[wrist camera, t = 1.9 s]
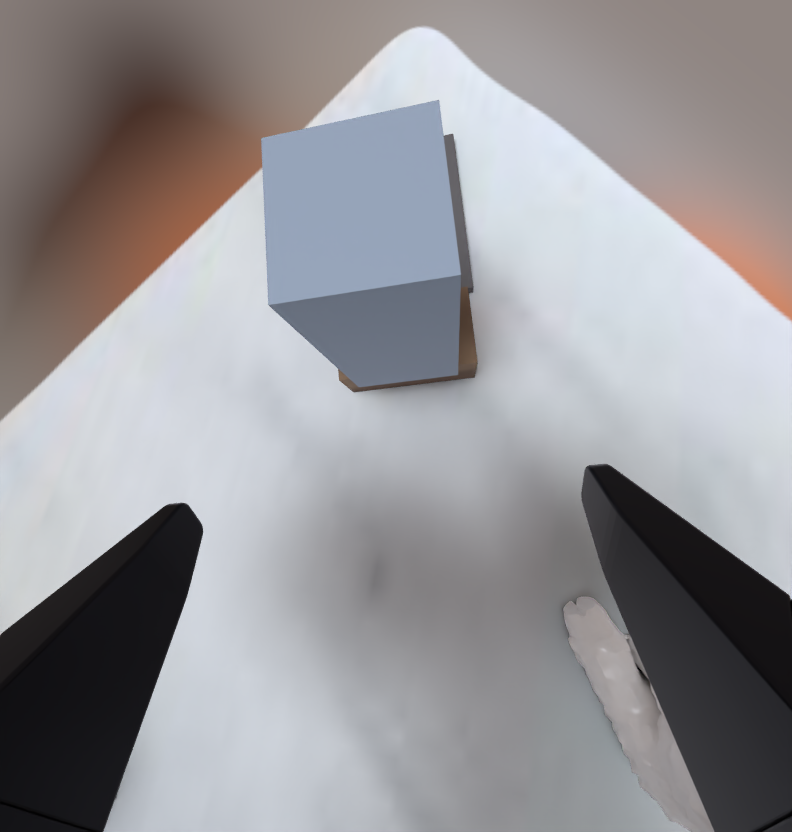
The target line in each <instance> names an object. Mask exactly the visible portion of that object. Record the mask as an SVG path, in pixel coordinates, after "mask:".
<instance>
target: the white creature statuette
mask: <svg viewBox="0 0 792 832" xmlns="http://www.w3.org/2000/svg"><path fill="white" fill-rule="evenodd" d="M563 611H564V620H565V624H566V627H567V629H568V632H569V635H570V636H569V637H568V642H569V644H570V646H571V648H572V649H573V651H574V652H575V657H576V659H577V661H578V662H579V663H580V664H581V665H582V666H583V667H584V669H585V671H586V675H587V676H588V678H589V681H590V683H591V686H592V689H593V690H594V692H595V693H596V694H597V696H598V697H599V702H601V703H602V704H603V705H604V714H605V715H606V716H607V717H608V719H610V720H611V722H612V728H613V730H614V732H615V733H616V734H617V737H618V740H619V742H620V743H621V744H622V751H623V753H624V755H625V756H627V757H628V758H629V759H630V763H631V769H632V772H633V773H634V774H636V775H638V782H639V785H640V788H642V789H643V790H644V791H646V792H647V793H648V794H649V795H650V796H651V797H652V798H653V799H654V800H656V801H657V803H658V804H659V806H660V807H661V808H662V810H663V811H664V813H665V814H666V816H667V817H668V819H669V820H670V821H672V822H676V823H678V824H680V825H681V826H683V827H685V828H686V829H688V830H690V831H691V832H714V830H713V827H712V825H711V823H710V820H709V818H708V816H707V813H706V811H705V809H704V806H703V804H702V802H701V799H700V797H699V795H698V792H697V790H696V788H695V785H694V783H693V781H692V778H691V776H690V774H689V771H688V769H687V767H686V764H685V762H684V760H683V757H682V755H681V753H680V750H679V748H678V746H677V743H676V741H675V739H674V736H673V734H672V732H671V729H670V727H669V725H668V722H667V720H666V718H665V715H664V713H663V711H662V708H661V706H660V704H659V701H658V699H657V697H656V694H655V692H654V690H653V687H652V685H651V683H650V680H649V678H648V676H647V673H646V671H645V669H644V666H643V664H642V662H641V659H640V657H639V655H638V652H637V650H636V648H635V645H634V643H633V641H632V638H631V636H630V634H629V635H624V634H623V633H622V632H621V631H620V630H619V629H618V628H617V627H616V625H615V624H614V623H613V622H612V621H611V619H610V617H609V616H608V614H607V612H606V610H605V609H604V608H603V607H602V606H601V605H600V604H599V603H598V602H597V601H596V600H595V599H594V598H592V597H579V598H577V600H576V604H574V603H573V602H572V601H569V602H568V603H567V604H566V605H565V607H564V609H563ZM636 666H637V667H639V668H640V669H641V671H642V673H641V672H640V671H639V670H638V669H637V667H636Z"/></svg>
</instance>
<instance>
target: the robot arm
mask: <svg viewBox="0 0 792 832" xmlns="http://www.w3.org/2000/svg"><path fill="white" fill-rule="evenodd" d="M581 497H582V503H583V507H584V510H585V513H586V517H587V520H588V523H589V527H590V530H591V533H592V537H593V540H594V543H595V547H596V550H597V553H598V557H599V560H600V563H601V566H602V570H603V572H604V575H605V577H606V580H607V583H608V585H609V587H610V590H611V592H612V594H613V597H614V599H615V601H616V604H617V606H618V608H619V611H620V613H621V615H622V618H623V620H624V622H625V624H626V627H627V629H628V631H629V634H630V636H631V638H632V641H633V643H634V645H635V648H636V650H637V652H638V655H639V657H640V659H641V662H642V664H643V666H644V669H645V671H646V673H647V676H648V678H649V680H650V683H651V685H652V687H653V690H654V692H655V694H656V697H657V699H658V701H659V704H660V706H661V708H662V711H663V713H664V715H665V718H666V720H667V722H668V725H669V727H670V729H671V732H672V734H673V736H674V739H675V741H676V743H677V746H678V748H679V750H680V753H681V755H682V757H683V760H684V762H685V764H686V767H687V769H688V771H689V774H690V776H691V778H692V781H693V783H694V785H695V788H696V790H697V792H698V795H699V797H700V799H701V802H702V804H703V806H704V809H705V811H706V813H707V816H708V818H709V820H710V823H711V825H712V827H713V830H714V832H792V599H791V600H790V596H789V595H788V594H787V593H786V592H784V591H783V590H781V589H780V588H779V587H777V586H776V585H775V584H773V583H772V582H770V581H769V580H768V579H766V578H765V577H764V576H762V575H761V574H759V573H758V572H757V571H755V570H754V569H752V568H751V567H750V566H748V565H747V564H746V563H744V562H743V561H741V560H740V559H739V558H737V557H736V556H735V555H733V554H732V553H730V552H729V551H728V550H726V549H725V548H723V547H722V546H721V545H719V544H718V543H717V542H715V541H714V540H712V539H711V538H710V537H708V536H707V535H706V534H704V533H703V532H701V531H700V530H699V529H697V528H696V527H694V526H693V525H692V524H690V523H689V522H688V521H686V520H685V519H683V518H682V517H681V516H679V515H678V514H677V513H675V512H674V511H672V510H671V509H670V508H668V507H667V506H665V505H664V504H663V503H661V502H660V501H659V500H657V499H656V498H654V497H653V496H652V495H650V494H649V493H648V492H646V491H645V490H643V489H642V488H641V487H639V486H638V485H636V484H635V483H634V482H632V481H631V480H630V479H628V478H627V477H625V476H624V475H623V474H621V473H620V472H618V471H617V470H616V469H614V468H613V467H612V466H610V465H608V464H598V465H589V466H587V467H586V469H585V472H584V478H583V485H582V492H581ZM202 536H203V527H202V524H201V522H200V521H199V519H198V518H197V516H196V515H195V514H194V512H193V511H192V509H191V508H190V507H189V505H187V504H186V503H174V504H168V505H166V506H164V507H163V508H162V509H160V510H159V511H158V512H157V513H155V514H154V515H153V516H152V517H150V518H149V519H148V520H146V521H145V522H144V523H143V524H141V525H140V526H139V527H137V528H136V529H135V530H134V531H132V532H131V533H130V534H128V535H127V536H126V537H125V538H123V539H122V540H121V541H119V542H118V543H117V544H116V545H114V546H113V547H112V548H110V549H109V550H108V551H107V552H105V553H104V554H103V555H101V556H100V557H99V558H98V559H96V560H95V561H94V562H93V563H91V564H90V565H89V566H87V567H86V568H85V569H84V570H82V571H81V572H80V573H78V574H77V575H76V576H75V577H73V578H72V579H71V580H69V581H68V582H67V583H66V584H64V585H63V586H62V587H60V588H59V589H58V590H57V591H55V592H54V593H53V594H51V595H50V596H49V597H48V598H46V599H45V600H44V601H42V602H41V603H40V604H39V605H37V606H36V607H35V608H34V609H32V610H31V611H30V612H28V613H27V614H26V615H25V616H23V617H22V618H21V619H19V620H18V621H17V622H16V623H14V624H13V625H12V626H10V627H9V628H8V629H7V630H5V631H4V632H3V633H2V634H1V635H0V832H103V831H104V828H105V825H106V823H107V820H108V817H109V814H110V811H111V809H112V806H113V803H114V800H115V797H116V795H117V792H118V789H119V786H120V783H121V781H122V778H123V775H124V772H125V769H126V766H127V764H128V761H129V758H130V755H131V752H132V750H133V747H134V744H135V741H136V738H137V736H138V733H139V730H140V727H141V724H142V722H143V719H144V716H145V713H146V710H147V708H148V705H149V702H150V699H151V696H152V694H153V691H154V688H155V685H156V682H157V680H158V677H159V674H160V671H161V668H162V666H163V663H164V660H165V657H166V654H167V652H168V649H169V646H170V643H171V640H172V638H173V635H174V632H175V629H176V626H177V624H178V621H179V618H180V615H181V612H182V610H183V607H184V604H185V601H186V598H187V594H188V591H189V587H190V584H191V580H192V576H193V572H194V568H195V564H196V560H197V556H198V552H199V548H200V544H201V540H202Z"/></svg>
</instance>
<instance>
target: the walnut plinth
mask: <svg viewBox="0 0 792 832" xmlns="http://www.w3.org/2000/svg"><path fill="white" fill-rule="evenodd" d="M476 368H477V355H476V347H475V339H474V331H473V324H472V316H471V308H470V300H469V292H468V286H467V287H461V292H460V327H459V362H458V375H454V376H446V377H438V378H430V379H422V380H414V381H406V382H398V383H390V384H382V385H374V386H366V387H358V386H357V385H356V384H355V383H354V382H352V381H351V380H350V379H349V378H348V377H347V376H346V375H345V374H344V373H343V372H341V371H340V370H339V369H338V371H339V381H341V382H342V383H343V384H344V385H346V386H347V387H348V388H349V389H350V390H352V391H353V392H359V391H367V390H375V389H384V388H392V387H400V386H408V385H416V384H424V383H432V382H440V381H448V380H457V379H465V378H473V377H475V373H476Z"/></svg>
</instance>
